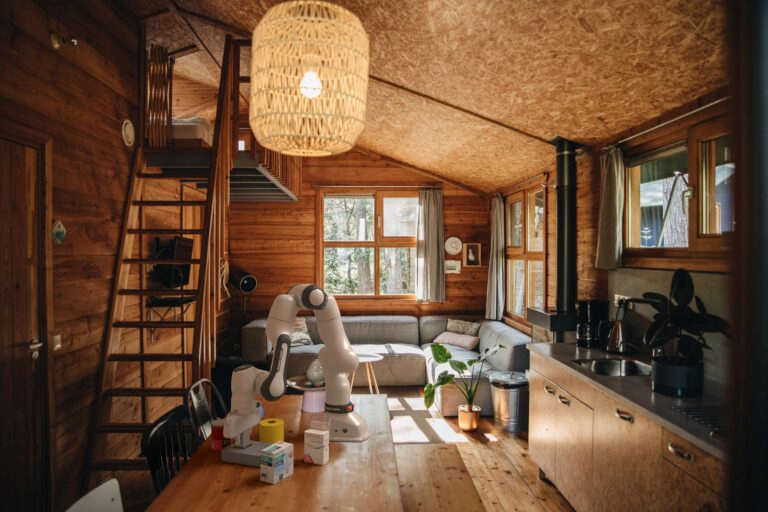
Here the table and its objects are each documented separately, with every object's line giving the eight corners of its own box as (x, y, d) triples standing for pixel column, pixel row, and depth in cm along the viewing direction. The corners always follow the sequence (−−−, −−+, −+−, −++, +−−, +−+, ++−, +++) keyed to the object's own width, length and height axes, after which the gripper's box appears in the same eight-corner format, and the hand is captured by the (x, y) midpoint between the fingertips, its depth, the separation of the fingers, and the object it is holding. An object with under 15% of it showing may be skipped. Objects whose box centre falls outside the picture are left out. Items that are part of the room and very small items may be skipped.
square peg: (249, 450, 193) (249, 427, 193) (243, 453, 189) (243, 430, 189) (241, 448, 194) (241, 426, 194) (235, 452, 190) (235, 429, 191)
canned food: (225, 453, 195) (225, 425, 195) (207, 451, 197) (207, 424, 197) (234, 446, 202) (235, 419, 203) (217, 444, 204) (217, 418, 204)
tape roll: (272, 438, 211) (272, 416, 212) (288, 443, 206) (288, 421, 206) (254, 445, 203) (254, 422, 203) (270, 450, 197) (270, 427, 198)
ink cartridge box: (303, 462, 186) (303, 423, 186) (309, 457, 190) (309, 419, 191) (323, 465, 183) (323, 426, 183) (329, 460, 187) (329, 422, 188)
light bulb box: (273, 485, 166) (274, 453, 167) (259, 480, 170) (259, 449, 170) (294, 473, 176) (294, 443, 176) (280, 469, 179) (280, 440, 179)
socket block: (284, 455, 193) (284, 444, 193) (266, 467, 180) (266, 457, 181) (241, 448, 199) (241, 439, 199) (221, 460, 187) (221, 450, 187)
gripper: (233, 415, 181) (233, 452, 181) (263, 400, 200) (263, 434, 200) (219, 413, 183) (219, 450, 183) (250, 399, 202) (250, 432, 202)
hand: (242, 442), depth 192 cm, fingers closed on square peg, 4 cm apart
